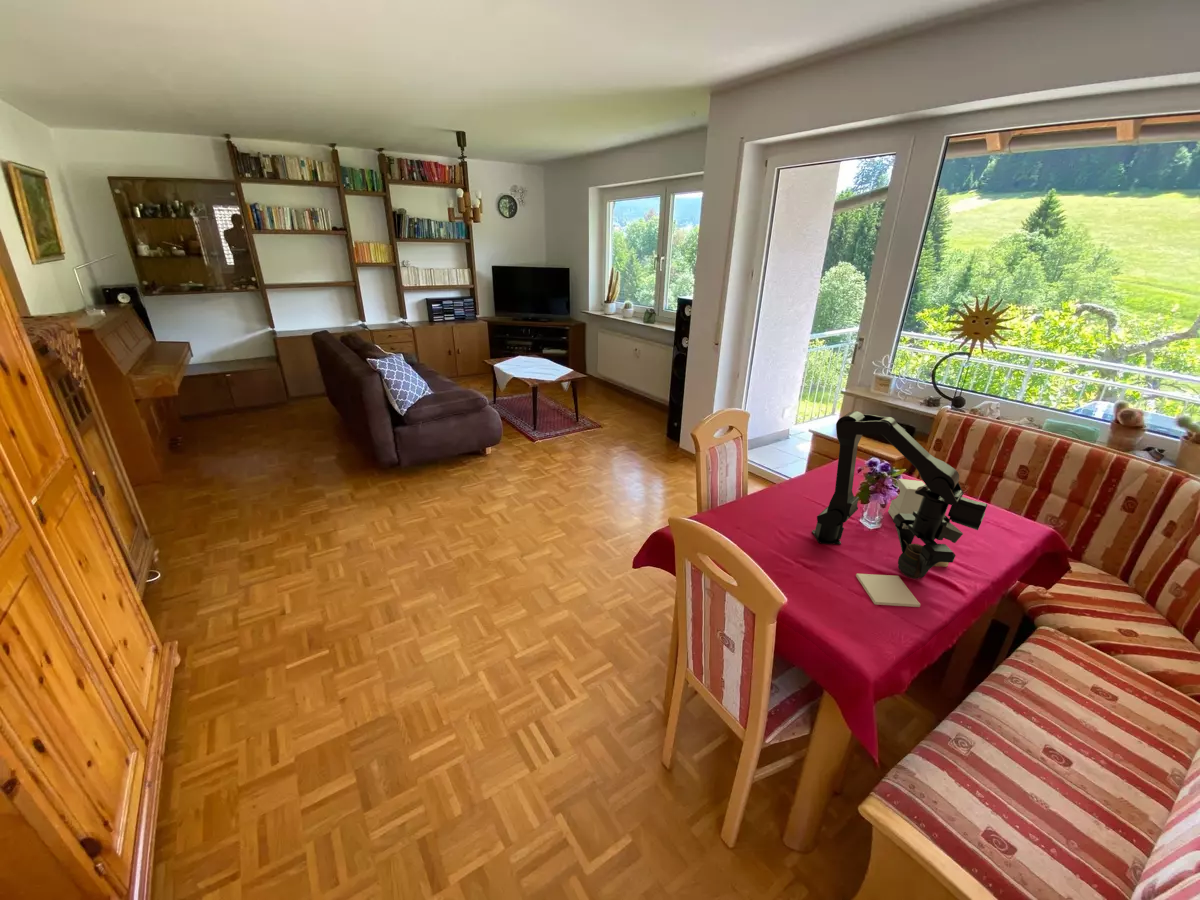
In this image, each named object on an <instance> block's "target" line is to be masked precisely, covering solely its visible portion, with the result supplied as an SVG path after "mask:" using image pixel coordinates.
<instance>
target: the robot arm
mask: <svg viewBox="0 0 1200 900" xmlns="http://www.w3.org/2000/svg"><path fill="white" fill-rule="evenodd" d="M835 430H836V438H837V441H838V444H839V453H838V461H837V469H836V478H835V479H836V480H835V487H834V488H835V489H834V493H833V495H832V496H831V499H830V501H829V504H828V506H827V507H826V508H824V509H823V510H822V511H821V512H820V513H819V514H818V515H817V516H816V521H817V522H816V526H815V529H812V530H811V532H812V533H813V536H814V537H815V539H816V541H817V542H818V543H819V544H825V545H841V544H842V542H841V539H842V536H843V532H844V529H845V528H844V523H846V522H847V521H848V520H849V519H850V518H851V517H852V516H853V515H854V514H855V513H856V512H857V511H858V509H859V507H858V502H859V500H860V497H859V496H854V493H853V486H854V478H855V469H856V462H857V460H856V459H857V453H858V445H859V443H860V442H861V440H862V437H863V435H864V436H866V435H881V436H882V437H883V438H885V440H887V441H888V442H889V443H890V444H891V445H892V447H894V448H895V449H896V451H898V452H899V453H900V454H901V455H902V456H903V457H904V458H906V460H907V461H909V463H910V464H911V465H912V466H914V468H915V469H916V470H917V472H918V474H919V476H920V478H921V481H922V482H923V483H924V484H925V485H924V486H921V487H918V488H917V490H916V491H915V493H916V494H918V495H921V496H923V498H922V501H921V503H920V506H919V509H918V511H913V514H904V513H899V514H897V515H895V517H894V520H893V519H892V520H893V521H892V522H893V523H894V528H895V529H896V532H897V536H898V540H899V545H900V548H901V549H900V550H901V553H903V552H904V551H905V549H906V546H907V545H906V543H905V542H904V540H905V541H906V542H907V543H908V544H913V540H914V538H915V537H916V538H917V539H920V540H921V541H922V543H924V544H923V545H922V546H923V547H922V553H920V573H921V574H925V573H926V572H927V573H928V572H929V571H930V570H931V569H932V568H933V567H935V566H934V565H935V564H937V563H938V562H949V563H953V562H954V560H955V558H956V554H955V552H954V551H953V550H952V549H951V548H950V547H949V546H948V545H947V544H946V543H938V542H936V541H935V540H937V541H943V540H944V539H945V540H948V541H950V542H952V543H954V544H956V543H957V541H959V540H960V538H961V537H962V536H963V535H964V533H963V532H962V531H961V530H960V529H959V528H958V527H957V526H955V525H954V524H953V523H955V524H958V525H961V526H963V527H964V526H965V527H967V528H970V529H973V530H975V531H979V530H980V527H981V525H982V522H983V520H984V517H985V515H986V511H987V508H988V504H987V503H986V502H982V501H977V500H973V499H970V498H968V497H965V496H964V491H963V489H962V485H961V484H960V483H959V480H960V474H959V473H960V472H959V471H957V470H956V469H955V468H954V467H952V466H951V465H950V464H949V463H946V462H945V461H943V460H941V459H939V458H937V457H935V456H934V455H931V453H929V451H927V449H925V448H924V446H922V445H921V444H920V443H919V442H918V441H917V440H915V438H913V436H911V435H910V433H908V432H907V431H906V430H905V429H904V428H903V427H902V426H901V425H900V424H898V422H897V421H896V419H895V418H893V417H891V416H879V415H874V414H868V413H867V414H866V413H865V414H864V413H862V412H860V411H858V410H857V411H856V410H855V411H850V412H848V413H846V414H844V415H843V416H842V417H839V418H838V420H837V421H836V424H835ZM949 506H950V509H949V511H948V513H947V510H948V508H949ZM946 513H947V515H946ZM927 573H926V574H927ZM926 574H925V575H926Z"/></svg>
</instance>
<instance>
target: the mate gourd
mask: <svg viewBox="0 0 1200 900" xmlns="http://www.w3.org/2000/svg"><path fill="white" fill-rule="evenodd" d="M904 542H905V543H906V545H907V546H906V549H905V551H904V552H901V554H900V555H899V557H898V560H897V565H898V566H897V567H898V569H899V571H900V573H902V575H903V576H905V577H907V578H910V579H914V580H918V579H921V578H924V577H925V576H926V574H928V572H926V573H925V574H921V573H920V553H922V547H923V545H921V544H918V543H911V544H908V543H907V542H906V541H905V540H904Z"/></svg>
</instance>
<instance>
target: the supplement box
mask: <svg viewBox="0 0 1200 900" xmlns="http://www.w3.org/2000/svg"><path fill="white" fill-rule="evenodd" d="M897 483H898V486H899V489H900V494H899V496H898V497H897V498H896V499H894V500H892V499H891V502H890V505H889V508H888V514H889V515H890V516H891V518H892V520H894V517H895V515H897V514H899V513H904V514H913V511H918V509H919V506H920V503H921V501H922V498H923V496H921V495H918V494H916V493H915V491H916V490H917V488H918V487H921V486H924V485H925V483H924V481H923V480H915V479H905V478H898V480H897V482H896V484H897Z"/></svg>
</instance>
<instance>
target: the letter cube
mask: <svg viewBox="0 0 1200 900" xmlns="http://www.w3.org/2000/svg"><path fill="white" fill-rule="evenodd" d="M949 564H950V562H938V563H937V564H935V565H934V566H933V567H943V568H946V567H948V566H949Z"/></svg>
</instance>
